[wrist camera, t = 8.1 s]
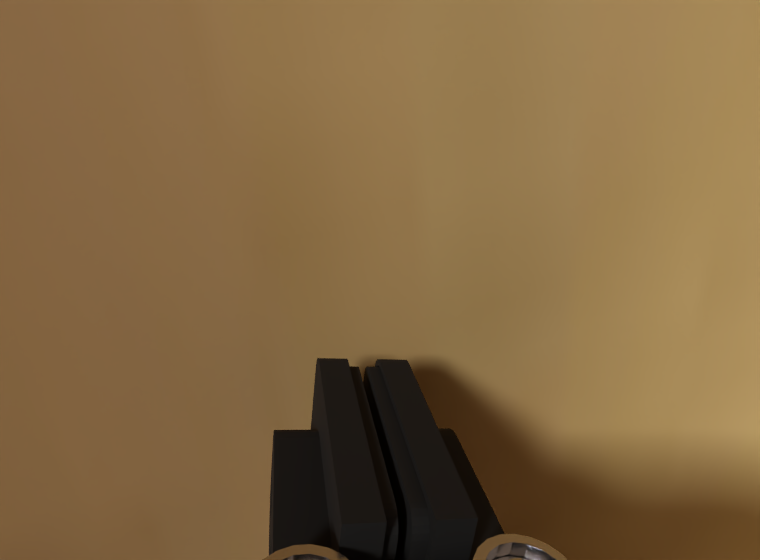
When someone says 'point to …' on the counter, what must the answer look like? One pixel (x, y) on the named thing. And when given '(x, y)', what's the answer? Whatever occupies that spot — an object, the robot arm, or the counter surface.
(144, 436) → the counter surface
